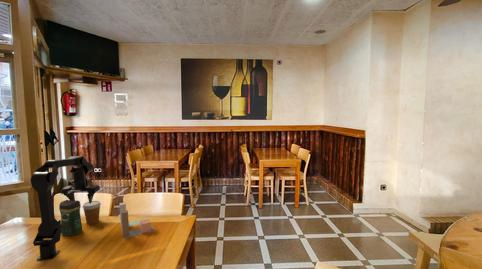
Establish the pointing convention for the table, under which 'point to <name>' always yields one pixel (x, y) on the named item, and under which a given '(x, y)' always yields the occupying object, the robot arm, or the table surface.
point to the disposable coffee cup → (92, 212)
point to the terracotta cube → (145, 226)
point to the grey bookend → (131, 223)
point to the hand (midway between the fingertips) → (82, 203)
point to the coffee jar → (70, 217)
